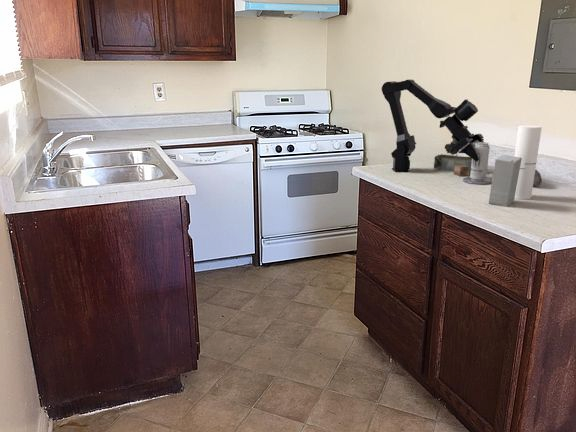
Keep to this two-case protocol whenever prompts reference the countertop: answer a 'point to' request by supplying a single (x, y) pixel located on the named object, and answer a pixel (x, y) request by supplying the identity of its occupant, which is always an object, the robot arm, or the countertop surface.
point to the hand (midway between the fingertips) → (481, 159)
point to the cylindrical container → (527, 159)
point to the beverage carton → (451, 162)
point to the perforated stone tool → (537, 179)
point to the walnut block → (461, 170)
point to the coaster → (485, 182)
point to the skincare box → (504, 180)
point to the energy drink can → (480, 162)
